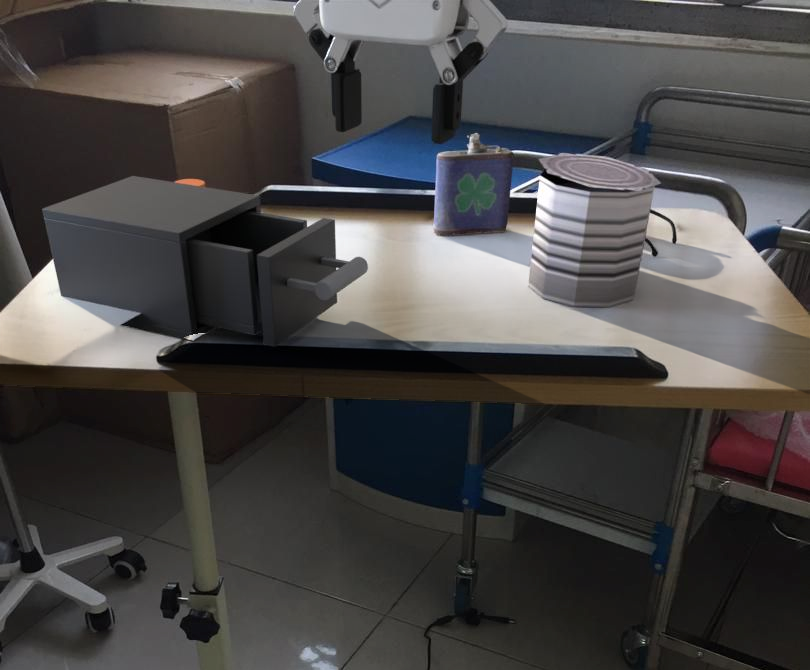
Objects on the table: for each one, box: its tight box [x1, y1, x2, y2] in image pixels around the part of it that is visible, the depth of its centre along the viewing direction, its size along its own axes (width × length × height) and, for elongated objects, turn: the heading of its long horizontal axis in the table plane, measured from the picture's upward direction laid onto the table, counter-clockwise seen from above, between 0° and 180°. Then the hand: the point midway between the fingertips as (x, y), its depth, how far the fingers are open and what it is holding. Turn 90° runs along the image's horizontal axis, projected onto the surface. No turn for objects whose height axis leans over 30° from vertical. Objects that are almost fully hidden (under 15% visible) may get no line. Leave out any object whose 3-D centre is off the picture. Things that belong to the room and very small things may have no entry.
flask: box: [432, 132, 515, 237], centre depth 103 cm, size 9×3×11 cm, turn 105°
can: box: [527, 152, 662, 308], centre depth 88 cm, size 11×11×12 cm
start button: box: [174, 178, 206, 187], centre depth 102 cm, size 4×4×2 cm
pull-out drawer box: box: [185, 211, 369, 348], centre depth 80 cm, size 18×11×8 cm, turn 66°
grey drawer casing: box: [41, 175, 262, 340], centre depth 83 cm, size 15×13×10 cm
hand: (395, 132), depth 68 cm, fingers open, 7 cm apart
